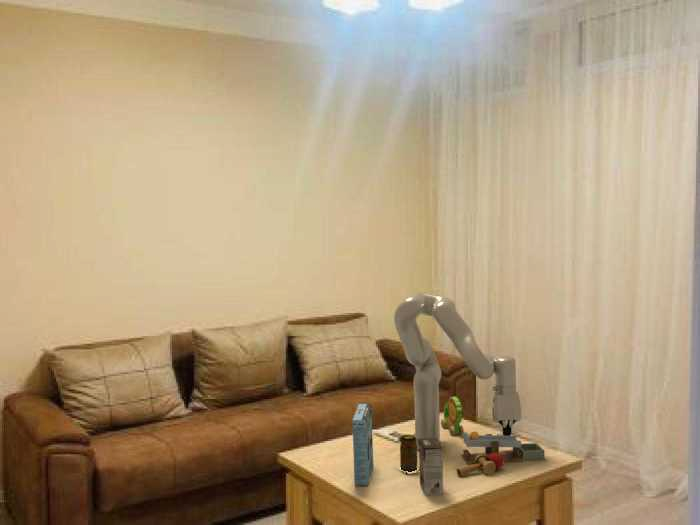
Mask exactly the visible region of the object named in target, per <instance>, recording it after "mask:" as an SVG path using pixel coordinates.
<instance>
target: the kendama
mask: <svg viewBox="0 0 700 525" xmlns="http://www.w3.org/2000/svg"><path fill="white" fill-rule="evenodd" d="M503 465H504V463H503V458H502V456H501V455H500V454H498V453H491V454H489V455H488V456H487V458H486V457H485V456H484V455H482V454H480V455H478V456H477V457H476V458H475V464H470V465H467V466H462V467H458V468H457V469H456V474H457V476H458V477H459V478H462V477H464V476H466V475H468V474H470V473H472V472H475V471H477V470H479V469H481V468H482V471H483V473H484V474H485V475H492V474H494V472H496V471H498V470H500V469H501V468H502V467H503Z"/></svg>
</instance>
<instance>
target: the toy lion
mask: <svg viewBox="0 0 700 525" xmlns="http://www.w3.org/2000/svg"><path fill="white" fill-rule="evenodd" d="M462 420H463V407H462V404H461V402H460V400H459V398H458V397H457V396H451V397H449V399H448V401H447V403H445V404H444V407H443V418H441V420H440V424H441V425H440V426H441V428H442V429H446V428H447V427H449V428H448V432H449V435H450V436H455V434H456V435H457V434H458V435H464V433H465V432H464V430H465V429H464V426H463V425H461V423H462Z"/></svg>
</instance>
